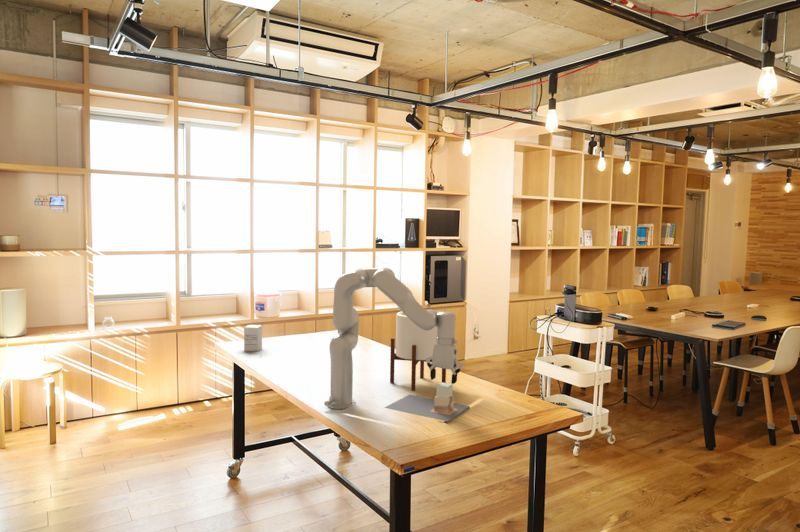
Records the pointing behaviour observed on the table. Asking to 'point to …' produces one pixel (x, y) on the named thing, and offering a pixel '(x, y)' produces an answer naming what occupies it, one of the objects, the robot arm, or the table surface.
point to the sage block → (444, 390)
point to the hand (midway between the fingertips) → (443, 381)
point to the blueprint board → (426, 408)
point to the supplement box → (252, 337)
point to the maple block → (443, 404)
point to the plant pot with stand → (412, 346)
